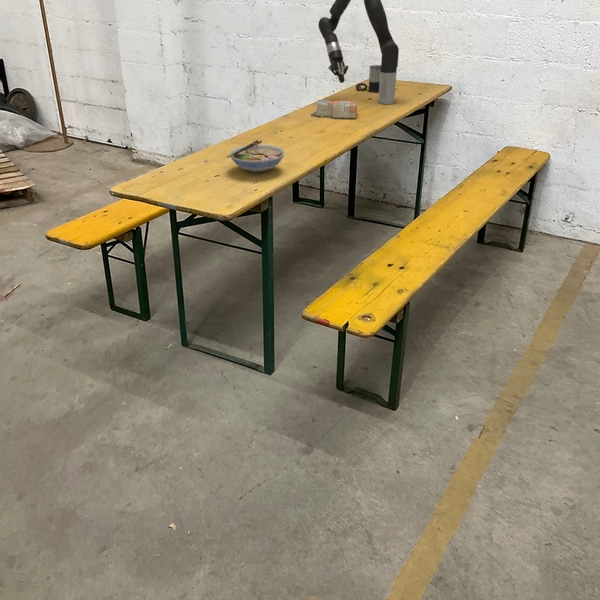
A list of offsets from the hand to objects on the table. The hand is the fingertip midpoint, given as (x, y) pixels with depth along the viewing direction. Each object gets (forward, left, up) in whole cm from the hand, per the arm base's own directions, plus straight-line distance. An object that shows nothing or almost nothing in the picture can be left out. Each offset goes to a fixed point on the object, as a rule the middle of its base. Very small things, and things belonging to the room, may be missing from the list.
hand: (342, 82), depth 342 cm
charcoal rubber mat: (+17, 0, -14) cm, 22 cm away
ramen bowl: (+114, +3, -15) cm, 115 cm away
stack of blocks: (+11, +1, -11) cm, 15 cm away
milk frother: (-52, 0, -15) cm, 54 cm away
